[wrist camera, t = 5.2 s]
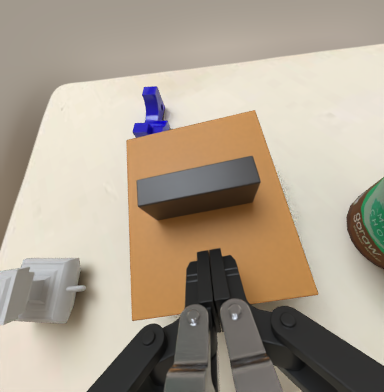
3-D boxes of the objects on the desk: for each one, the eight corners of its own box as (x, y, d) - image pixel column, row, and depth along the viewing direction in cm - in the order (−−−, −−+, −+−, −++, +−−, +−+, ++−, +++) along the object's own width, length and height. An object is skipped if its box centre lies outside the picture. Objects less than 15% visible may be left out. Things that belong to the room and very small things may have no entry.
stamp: (100, 258, 25) (45, 253, 18) (91, 318, 23) (23, 342, 15) (39, 259, 27) (-38, 254, 19) (24, 315, 24) (-70, 337, 17)
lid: (129, 144, 21) (103, 110, 16) (253, 115, 20) (262, 70, 15) (136, 318, 15) (98, 339, 11) (314, 293, 14) (356, 304, 9)
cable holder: (165, 149, 30) (157, 132, 26) (143, 149, 30) (132, 132, 27) (173, 106, 32) (166, 85, 29) (153, 107, 33) (144, 87, 29)
